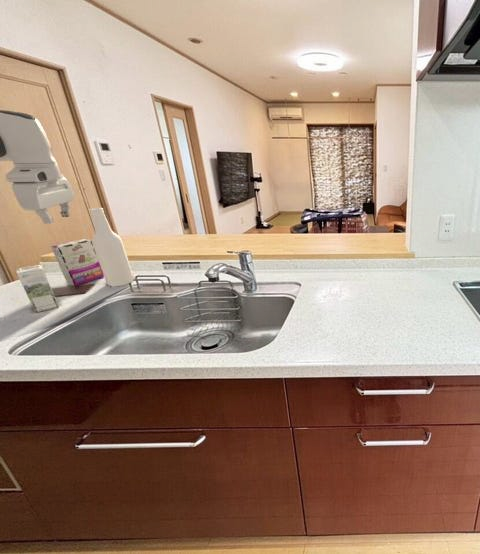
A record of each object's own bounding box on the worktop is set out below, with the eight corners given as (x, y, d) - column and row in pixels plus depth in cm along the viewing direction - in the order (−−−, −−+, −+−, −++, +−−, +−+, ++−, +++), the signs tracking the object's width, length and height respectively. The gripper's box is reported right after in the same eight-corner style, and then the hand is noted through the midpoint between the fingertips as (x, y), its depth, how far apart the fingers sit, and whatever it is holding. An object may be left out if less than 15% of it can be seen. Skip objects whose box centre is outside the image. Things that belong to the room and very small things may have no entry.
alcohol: (138, 281, 122) (115, 208, 110) (112, 288, 115) (84, 211, 103) (129, 276, 126) (106, 205, 115) (104, 283, 119) (76, 208, 108)
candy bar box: (97, 275, 128) (83, 238, 121) (105, 276, 126) (92, 239, 120) (66, 285, 118) (49, 245, 112) (74, 286, 116) (58, 246, 110)
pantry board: (36, 299, 106) (35, 298, 106) (50, 289, 114) (49, 288, 114) (85, 293, 111) (84, 292, 111) (95, 284, 119) (95, 283, 119)
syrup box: (57, 302, 104) (40, 263, 99) (59, 307, 101) (42, 267, 95) (33, 308, 100) (14, 268, 95) (35, 313, 97) (15, 272, 91)
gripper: (48, 171, 95) (64, 213, 101) (-1, 176, 78) (23, 227, 83) (72, 171, 97) (87, 213, 103) (31, 176, 80) (51, 226, 85)
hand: (58, 219), depth 93 cm, fingers open, 8 cm apart
